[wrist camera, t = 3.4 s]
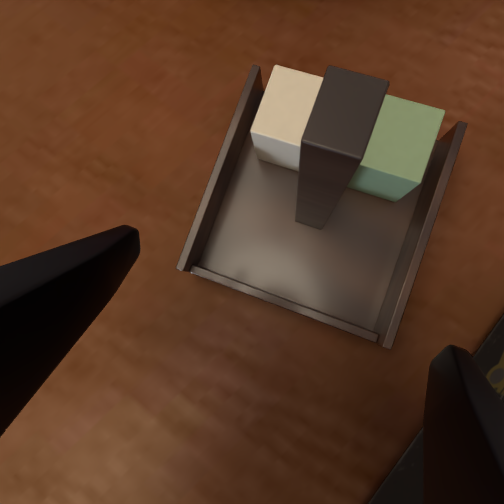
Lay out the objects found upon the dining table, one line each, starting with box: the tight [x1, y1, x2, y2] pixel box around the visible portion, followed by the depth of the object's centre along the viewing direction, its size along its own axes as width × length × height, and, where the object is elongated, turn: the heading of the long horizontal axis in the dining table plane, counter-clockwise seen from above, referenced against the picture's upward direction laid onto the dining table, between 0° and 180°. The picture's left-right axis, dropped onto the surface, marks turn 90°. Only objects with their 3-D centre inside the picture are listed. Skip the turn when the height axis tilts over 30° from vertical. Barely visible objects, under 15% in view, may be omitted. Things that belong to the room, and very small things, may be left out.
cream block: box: [250, 65, 323, 171], centre depth 20 cm, size 4×4×4 cm
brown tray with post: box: [176, 65, 468, 350], centre depth 15 cm, size 13×13×12 cm
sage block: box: [347, 95, 445, 202], centre depth 19 cm, size 4×4×4 cm
